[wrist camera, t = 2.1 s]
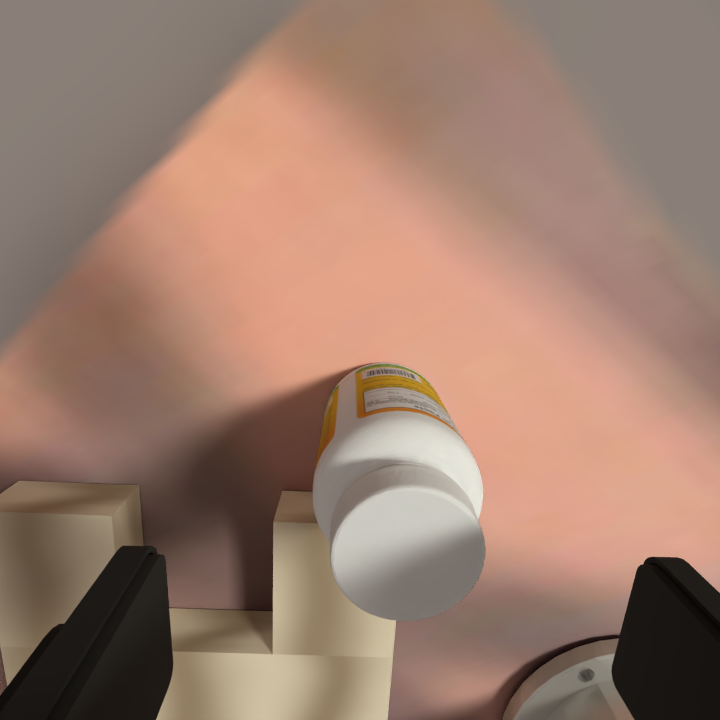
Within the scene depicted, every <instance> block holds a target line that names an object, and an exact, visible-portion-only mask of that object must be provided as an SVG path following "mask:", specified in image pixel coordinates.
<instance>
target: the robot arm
mask: <svg viewBox="0 0 720 720" xmlns="http://www.w3.org/2000/svg"><path fill="white" fill-rule="evenodd" d="M172 672H173V651H172V638H171V625H170V612H169V599H168V586H167V573H166V561H165V557H164V555H159V554H157V552H156V549H155V547H153V546H122V547H120V548H119V549H118V550H117V551H116V553H115V554H114V555H113V557H112V558H111V560H110V561H109V562H108V564H107V565H106V567H105V568H104V569H103V571H102V572H101V574H100V575H99V576H98V578H97V579H96V580H95V582H94V583H93V585H92V586H91V587H90V589H89V590H88V592H87V593H86V594H85V596H84V597H83V598H82V600H81V601H80V603H79V604H78V605H77V607H76V608H75V610H74V611H73V612H72V614H71V615H70V617H69V618H68V619H67V621H66V622H65V623H64V624H58V625H57V626H55V627H53V628H52V629H51V630H50V631H49V632H48V633H47V635H46V636H45V637H44V638H43V639H42V641H41V642H40V643H39V645H38V646H37V647H36V649H35V650H34V651H33V653H32V654H31V655H30V657H29V658H28V659H27V661H26V662H25V663H24V665H23V666H22V667H21V669H20V670H19V672H18V673H17V674H16V676H15V677H14V678H13V680H12V681H11V682H10V684H9V685H8V686H7V688H6V689H5V690H4V692H3V693H2V694H1V696H0V720H156V719H157V716H158V713H159V711H160V708H161V706H162V703H163V701H164V698H165V695H166V693H167V690H168V688H169V685H170V682H171V678H172ZM502 720H720V593H719V592H718V591H717V590H716V589H715V588H714V587H713V586H712V585H711V584H709V583H708V582H707V581H706V580H705V579H704V578H703V577H702V576H701V575H700V574H699V573H698V572H697V571H696V570H695V569H694V568H693V567H692V566H691V565H690V564H689V563H687V562H686V561H685V560H683V559H681V558H674V557H649V558H647V559H646V560H645V562H644V564H643V565H640V566H639V567H638V569H637V572H636V575H635V579H634V583H633V587H632V591H631V594H630V598H629V602H628V606H627V610H626V614H625V617H624V621H623V625H622V629H621V633H620V637H619V638H618V639H610V640H602V641H597V642H593V643H589V644H586V645H582V646H579V647H576V648H574V649H572V650H569V651H567V652H565V653H563V654H560V655H558V656H556V657H555V658H553V659H552V660H550V661H549V662H547V663H546V664H544V665H542V666H541V667H539V668H538V669H537V670H536V671H535V672H534V673H533V674H532V675H531V676H529V677H528V678H527V679H526V680H525V681H524V682H523V683H522V685H521V686H520V687H519V689H518V690H517V691H516V693H515V694H514V695H513V697H512V698H511V700H510V702H509V704H508V706H507V708H506V710H505V712H504V714H503V719H502Z"/></svg>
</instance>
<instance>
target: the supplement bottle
mask: <svg viewBox="0 0 720 720" xmlns="http://www.w3.org/2000/svg"><path fill="white" fill-rule="evenodd" d="M482 501H483V485H482V480H481V475H480V471H479V468H478V466H477V463H476V461H475V459H474V457H473V455H472V453H471V451H470V449H469V447H468V445H467V444H466V442H465V440H464V439H463V437H462V436H461V434H460V432H459V431H458V429H457V427H456V426H455V424H454V422H453V421H452V419H451V417H450V415H449V414H448V412H447V410H446V408H445V407H444V405H443V403H442V401H441V400H440V398H439V396H438V395H437V393H436V391H435V390H434V388H433V387H432V385H431V384H430V383H429V382H428V381H427V380H426V379H425V378H424V377H423V376H422V375H420V374H419V373H417V372H416V371H414V370H412V369H410V368H408V367H406V366H403V365H399V364H395V363H373V364H369V365H365V366H362V367H360V368H358V369H356V370H354V371H352V372H351V373H349V374H348V375H346V376H345V377H344V378H343V379H342V380H341V381H340V382H339V383H338V384H337V385H336V387H335V388H334V390H333V391H332V393H331V395H330V397H329V399H328V402H327V405H326V409H325V414H324V420H323V426H322V432H321V438H320V444H319V449H318V455H317V461H316V466H315V472H314V480H313V507H314V513H315V516H316V519H317V522H318V524H319V527H320V529H321V531H322V532H323V534H324V536H325V537H326V539H327V540H328V541H329V543H330V552H329V554H330V565H331V569H332V573H333V576H334V578H335V581H336V583H337V584H338V586H339V588H340V589H341V591H342V592H343V594H344V595H345V596H346V597H347V598H348V599H349V600H350V601H351V602H352V603H353V604H355V605H356V606H357V607H359V608H360V609H361V610H363V611H365V612H367V613H369V614H371V615H374V616H377V617H380V618H384V619H389V620H396V621H413V620H420V619H424V618H429V617H432V616H435V615H438V614H440V613H442V612H444V611H446V610H448V609H450V608H452V607H453V606H454V605H456V604H457V603H458V602H460V601H461V600H462V599H463V598H464V597H465V596H466V595H467V594H468V593H469V592H470V590H471V589H472V588H473V587H474V585H475V584H476V582H477V580H478V579H479V576H480V574H481V572H482V568H483V565H484V560H485V550H486V549H485V539H484V535H483V532H482V528H481V526H480V523H479V521H478V519H479V516H480V512H481V507H482Z"/></svg>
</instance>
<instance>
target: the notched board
mask: <svg viewBox="0 0 720 720" xmlns="http://www.w3.org/2000/svg"><path fill="white" fill-rule="evenodd" d="M122 546H144V542H143V529H142V516H141V504H140V491H139V485H121V484H95V483H69V482H43V481H18V482H17V483H15V484H14V485H12V486H11V487H9V488H8V489H7V490H5V491H4V492H2V493H1V494H0V648H1V653H2V659H3V665H4V670H5V676H6V681H7V686H8V685H9V684H10V682H11V681H12V680H13V678H14V677H15V676H16V674H17V673H18V672H19V670H20V669H21V667H22V666H23V665H24V663H25V662H26V661H27V659H28V658H29V657H30V655H31V654H32V653H33V651H34V650H35V649H36V647H37V646H38V645H39V643H40V642H41V641H42V639H43V638H44V637H45V636H46V635H47V633H48V632H49V631H50V630H51V629H52V628H53V627H55V626H57V625H58V624H64V623H65V622H66V621H67V619H68V618H69V617H70V615H71V614H72V612H73V611H74V610H75V608H76V607H77V605H78V604H79V603H80V601H81V600H82V598H83V597H84V596H85V594H86V593H87V592H88V590H89V589H90V587H91V586H92V585H93V583H94V582H95V580H96V579H97V578H98V576H99V575H100V574H101V572H102V571H103V569H104V568H105V567H106V565H107V564H108V562H109V561H110V560H111V558H112V557H113V555H114V554H115V553H116V551H117V550H118V549H119V548H120V547H122ZM329 552H330V543H329V541H328V540H327V539H326V537H325V536H324V534H323V532H322V531H321V529H320V527H319V524H318V522H317V519H316V516H315V513H314V507H313V492H305V491H282V493H281V497H280V500H279V504H278V507H277V511H276V514H275V518H274V521H273V611H245V610H213V609H180V608H169V612H170V625H171V638H172V651H173V672H172V678H171V682H170V685H169V688H168V690H167V693H166V695H165V698H164V701H163V703H162V706H161V708H160V711H159V713H158V716H157V719H156V720H387V719H388V708H389V696H390V684H391V673H392V661H393V650H394V638H395V626H396V620H389V619H384V618H380V617H377V616H374V615H371V614H369V613H367V612H365V611H363V610H361V609H360V608H359V607H357V606H356V605H355V604H353V603H352V602H351V601H350V600H349V599H348V598H347V597H346V596H345V595H344V594H343V592H342V591H341V589H340V588H339V586H338V584H337V583H336V581H335V578H334V576H333V573H332V569H331V565H330V554H329Z"/></svg>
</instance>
